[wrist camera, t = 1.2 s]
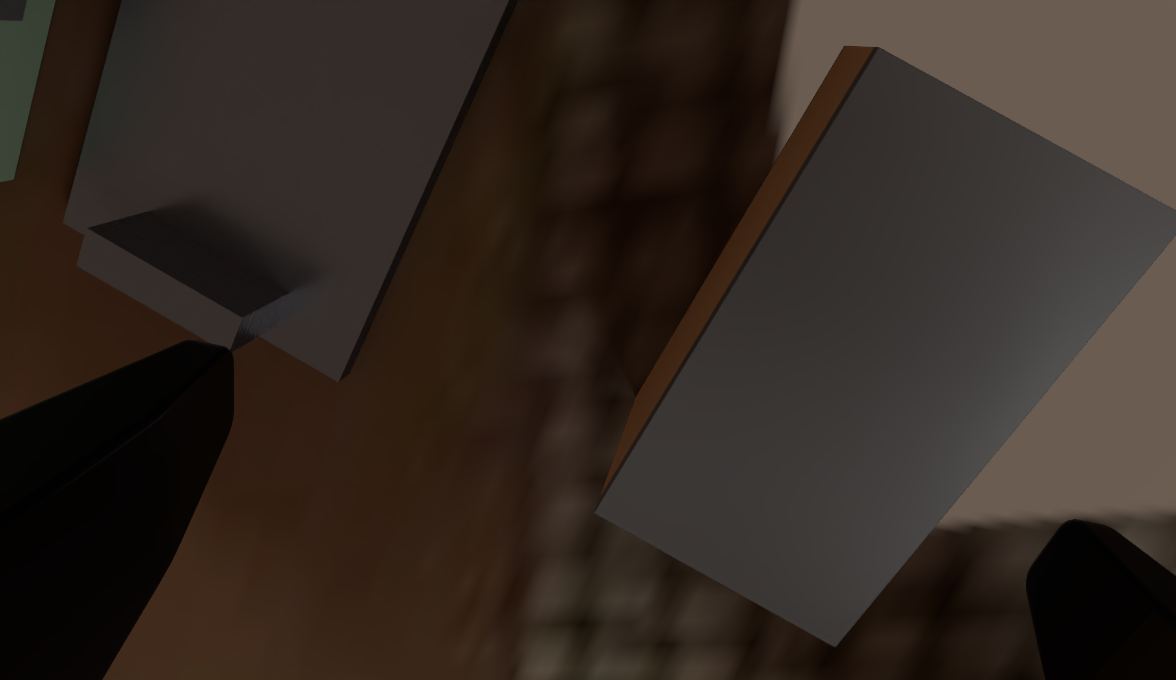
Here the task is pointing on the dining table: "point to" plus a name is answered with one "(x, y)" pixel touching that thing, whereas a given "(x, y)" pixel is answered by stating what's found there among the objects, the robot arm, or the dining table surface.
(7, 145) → the green long block
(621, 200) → the dining table surface
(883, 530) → the tan and grey block
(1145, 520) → the dining table surface
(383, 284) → the side mount
